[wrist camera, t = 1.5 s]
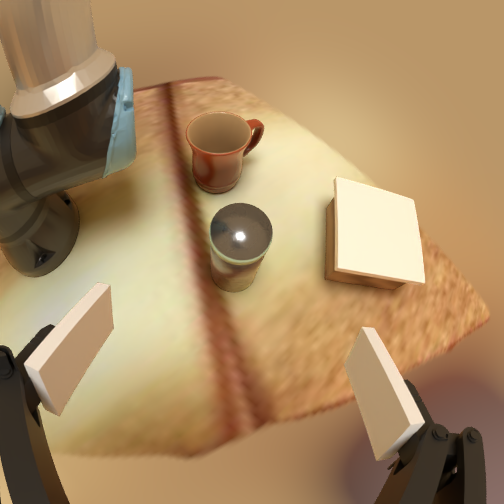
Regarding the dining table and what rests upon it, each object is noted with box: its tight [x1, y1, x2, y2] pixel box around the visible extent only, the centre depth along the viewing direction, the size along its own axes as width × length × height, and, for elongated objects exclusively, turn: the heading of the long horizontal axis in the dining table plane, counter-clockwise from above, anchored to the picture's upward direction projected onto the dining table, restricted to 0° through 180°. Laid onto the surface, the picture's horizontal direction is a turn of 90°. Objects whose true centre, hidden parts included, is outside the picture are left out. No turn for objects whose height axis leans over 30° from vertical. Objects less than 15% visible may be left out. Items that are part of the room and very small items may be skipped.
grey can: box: [209, 203, 272, 292], centre depth 33 cm, size 6×6×12 cm
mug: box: [186, 112, 264, 193], centre depth 40 cm, size 12×9×10 cm
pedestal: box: [325, 177, 425, 290], centre depth 39 cm, size 14×14×7 cm
